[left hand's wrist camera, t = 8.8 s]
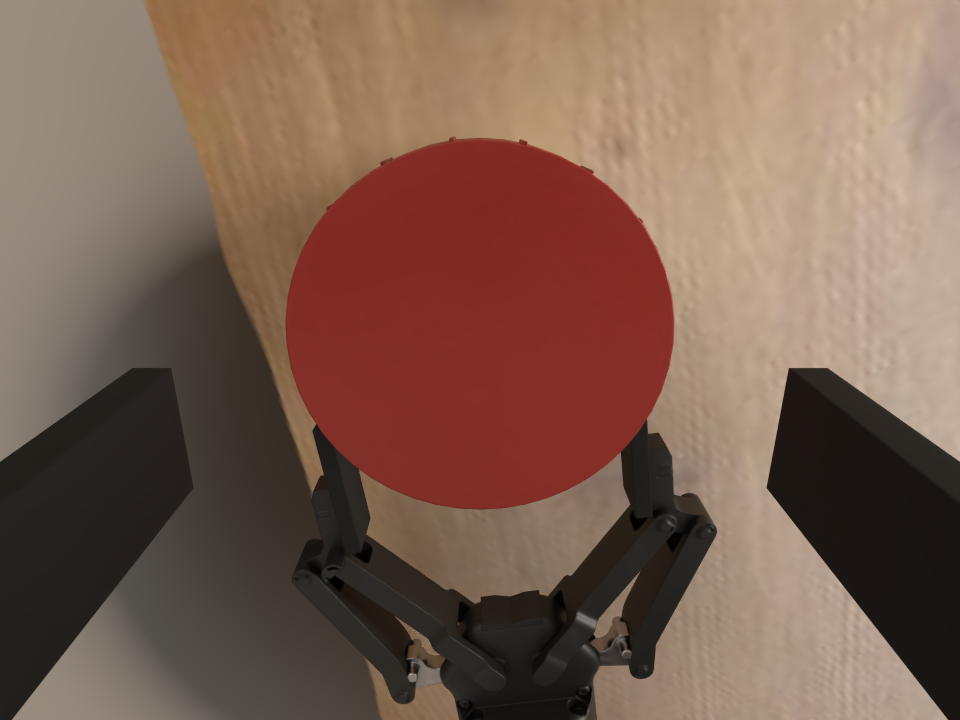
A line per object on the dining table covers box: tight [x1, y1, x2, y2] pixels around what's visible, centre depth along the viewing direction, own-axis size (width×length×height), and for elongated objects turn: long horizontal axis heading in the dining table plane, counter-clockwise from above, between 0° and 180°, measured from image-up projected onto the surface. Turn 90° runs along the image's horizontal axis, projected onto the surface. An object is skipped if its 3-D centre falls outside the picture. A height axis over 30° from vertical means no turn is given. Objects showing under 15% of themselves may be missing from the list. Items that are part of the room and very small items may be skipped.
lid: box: [286, 137, 674, 509], centre depth 19 cm, size 11×11×2 cm
